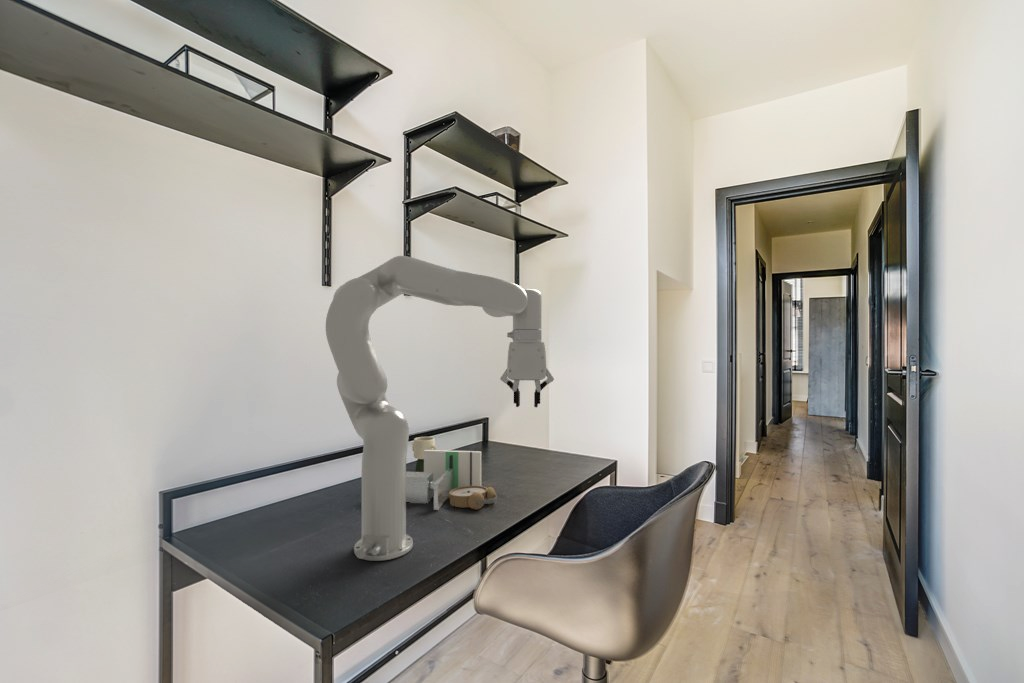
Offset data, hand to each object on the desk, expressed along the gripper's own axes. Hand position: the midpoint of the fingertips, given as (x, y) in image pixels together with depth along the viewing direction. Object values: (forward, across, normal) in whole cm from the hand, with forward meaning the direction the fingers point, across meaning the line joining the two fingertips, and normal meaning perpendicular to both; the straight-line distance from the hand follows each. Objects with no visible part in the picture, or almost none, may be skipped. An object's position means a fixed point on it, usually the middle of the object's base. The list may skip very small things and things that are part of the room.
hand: (526, 405), depth 121 cm
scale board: (+29, -25, +20) cm, 43 cm away
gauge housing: (+29, -35, +10) cm, 47 cm away
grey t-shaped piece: (+29, -30, +10) cm, 43 cm away
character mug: (+30, -38, +33) cm, 58 cm away
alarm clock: (+30, -16, +9) cm, 35 cm away
